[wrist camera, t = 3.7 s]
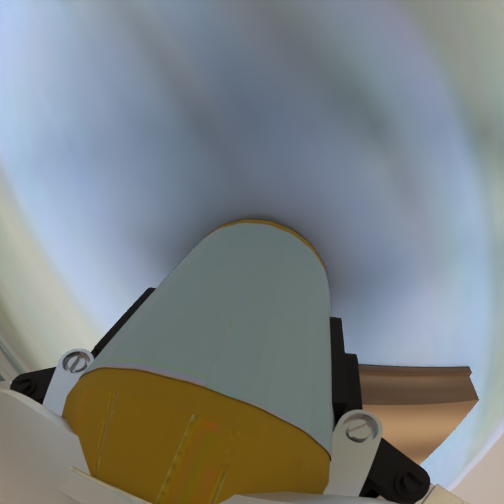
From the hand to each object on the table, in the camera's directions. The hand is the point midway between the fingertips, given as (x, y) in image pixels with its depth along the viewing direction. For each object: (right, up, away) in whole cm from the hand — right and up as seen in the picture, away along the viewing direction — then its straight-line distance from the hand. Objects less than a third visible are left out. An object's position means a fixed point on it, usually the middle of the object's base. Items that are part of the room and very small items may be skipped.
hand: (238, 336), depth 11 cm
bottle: (+1, +2, +4) cm, 5 cm away
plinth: (+9, -9, +7) cm, 15 cm away
